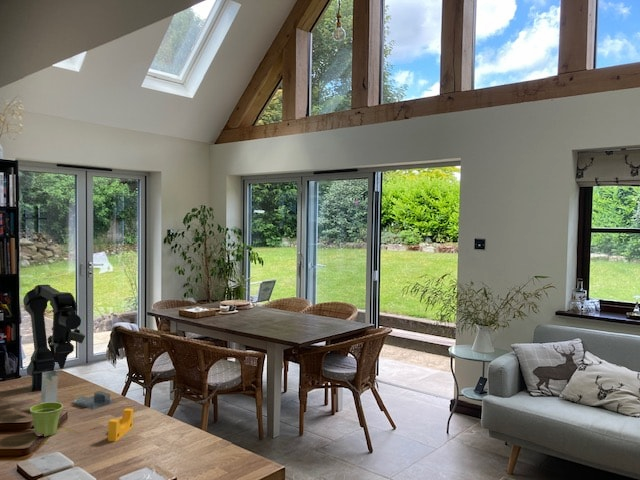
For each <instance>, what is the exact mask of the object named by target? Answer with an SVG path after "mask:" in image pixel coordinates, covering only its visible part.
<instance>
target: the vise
mask: <svg viewBox="0 0 640 480" xmlns="http://www.w3.org/2000/svg"><path fill="white" fill-rule="evenodd" d="M93 394H94V395H93V396H90V397H88V396H84V395H82V396H79V397H77V398H74V399H73V401H72V402H71V404H74V405H77V406H80V407H83V408H86V409H90V410H91V411H92V410H96V409H98V408H103V407H105V406H108V405H112V404H114V403H116V401H115V400H114V401H113V400H111V394H110V393H108V392H104V391H102V390H100V391H95V392H94V393H93Z"/></svg>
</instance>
